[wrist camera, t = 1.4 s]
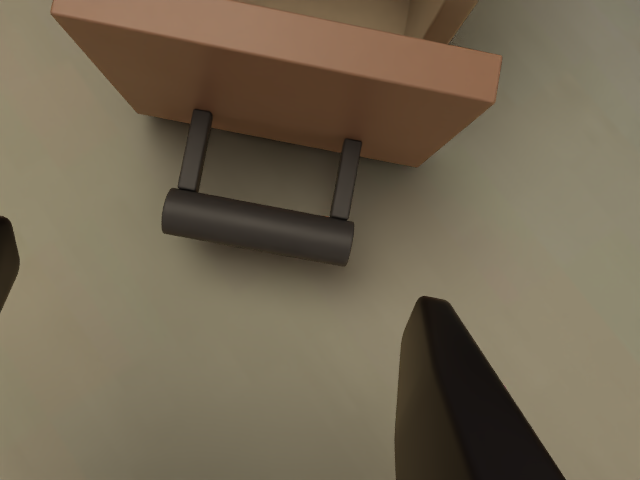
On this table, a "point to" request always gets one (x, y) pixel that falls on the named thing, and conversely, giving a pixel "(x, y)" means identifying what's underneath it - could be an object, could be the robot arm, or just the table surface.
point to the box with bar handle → (289, 94)
